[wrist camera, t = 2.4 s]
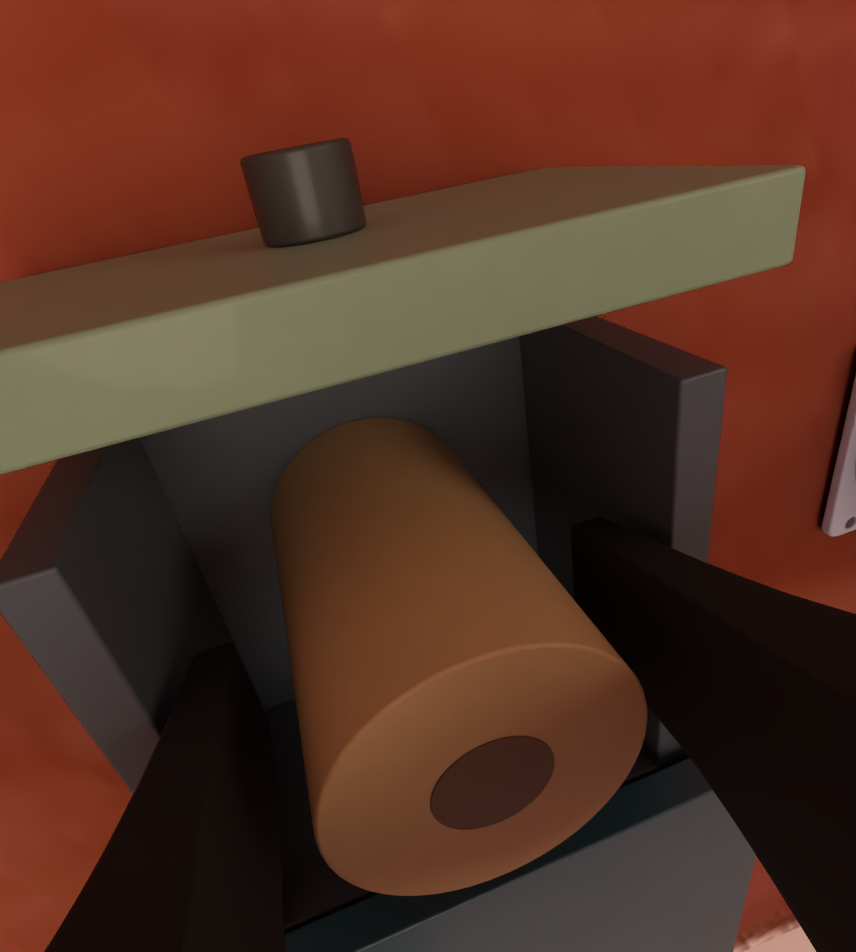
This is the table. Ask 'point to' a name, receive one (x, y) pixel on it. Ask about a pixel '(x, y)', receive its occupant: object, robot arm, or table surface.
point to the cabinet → (581, 887)
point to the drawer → (351, 412)
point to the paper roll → (437, 669)
